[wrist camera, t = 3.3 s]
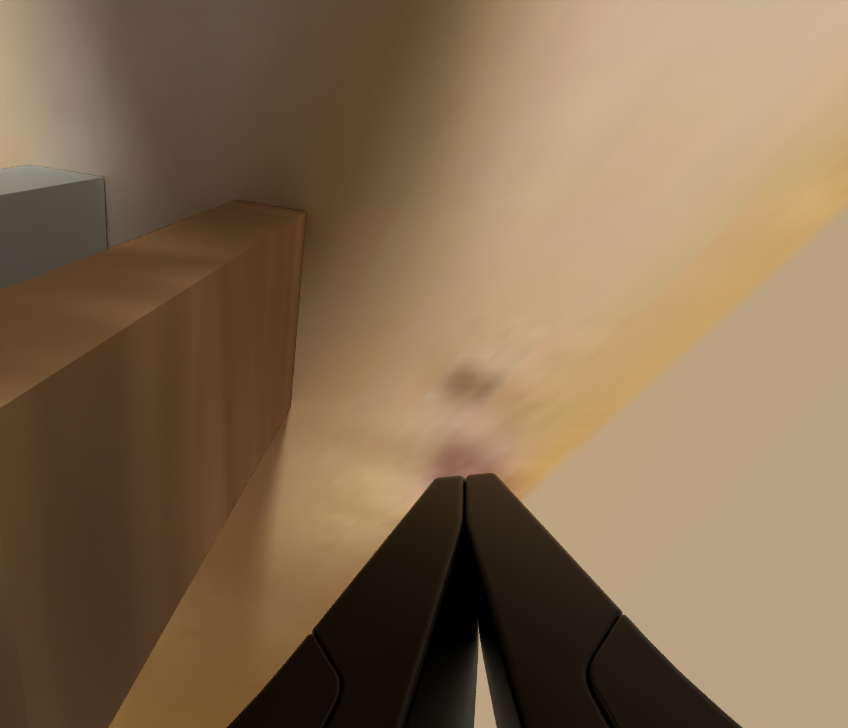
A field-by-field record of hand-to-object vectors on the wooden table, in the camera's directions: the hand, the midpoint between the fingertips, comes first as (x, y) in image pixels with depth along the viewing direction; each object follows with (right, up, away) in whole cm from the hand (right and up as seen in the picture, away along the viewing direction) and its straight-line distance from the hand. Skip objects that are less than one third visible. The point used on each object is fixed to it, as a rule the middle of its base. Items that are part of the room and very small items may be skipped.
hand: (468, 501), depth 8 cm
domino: (-4, +3, +6) cm, 8 cm away
